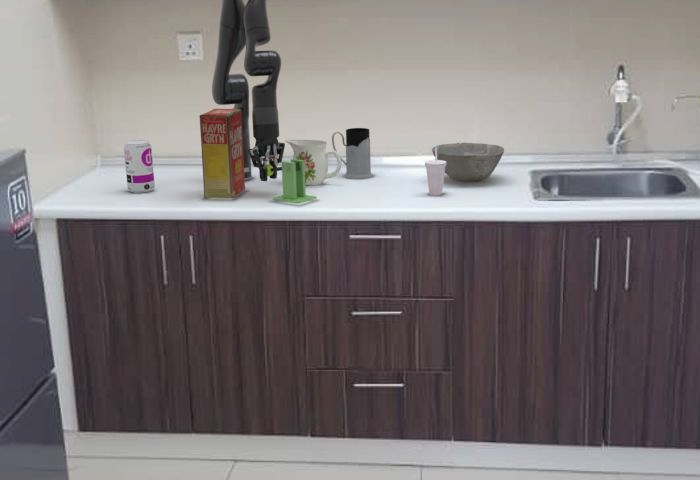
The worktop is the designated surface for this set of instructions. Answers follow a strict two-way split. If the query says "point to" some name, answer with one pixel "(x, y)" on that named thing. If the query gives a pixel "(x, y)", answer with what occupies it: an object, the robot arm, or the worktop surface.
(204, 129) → the food packaging
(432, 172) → the smoothie
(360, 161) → the glass holder
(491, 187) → the worktop surface
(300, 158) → the pitcher
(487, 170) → the ceramic bowl
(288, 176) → the green crank stand
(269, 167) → the switch lever
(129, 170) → the supplement can
